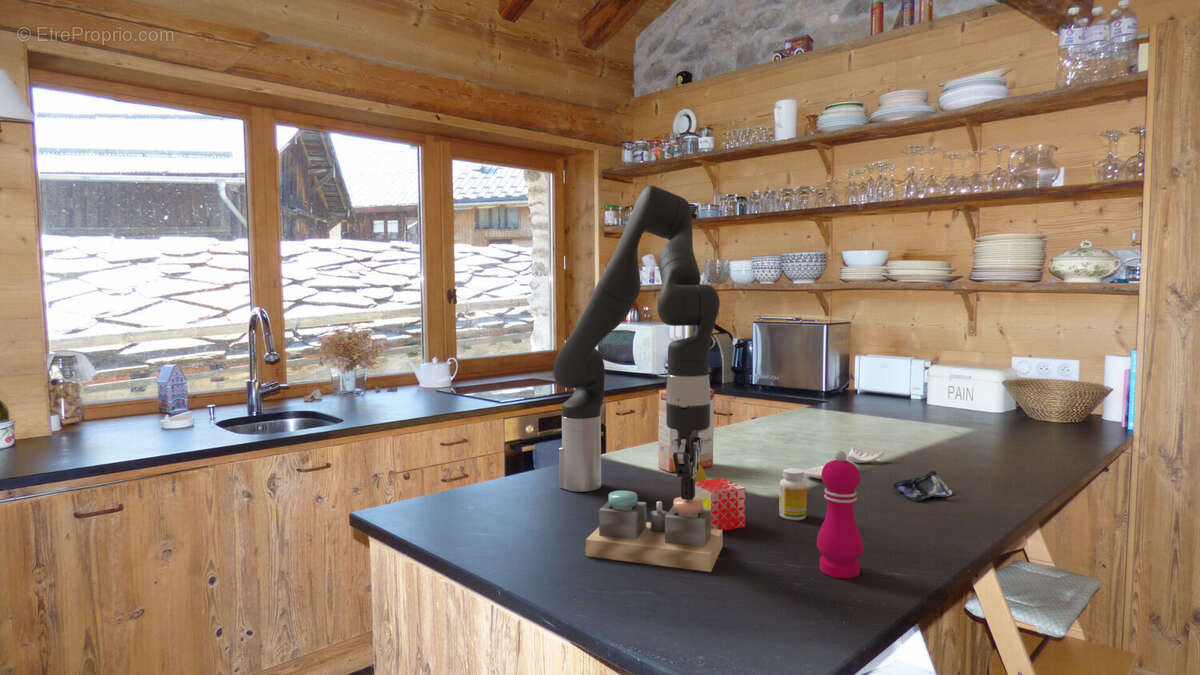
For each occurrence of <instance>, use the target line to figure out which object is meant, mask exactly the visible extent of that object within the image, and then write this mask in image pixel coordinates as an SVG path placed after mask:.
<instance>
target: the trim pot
mask: <svg viewBox="0 0 1200 675" xmlns="http://www.w3.org/2000/svg"><path fill="white" fill-rule="evenodd" d="M668 512H669V511H666V510H663V501H660V500H659V501H656V510H651V511H650V522H651V530H652V531H654V532H665V516H666V515H667V513H668Z"/></svg>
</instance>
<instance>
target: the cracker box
mask: <svg viewBox="0 0 1200 675" xmlns="http://www.w3.org/2000/svg"><path fill="white" fill-rule="evenodd" d="M714 412H715V390H714V389H712V388H710V426H709V428H707V429H705V430H700V431H698V433H699V435H698V437H701V440H702V445H701V453H700V461H699V465H700V466H701V467H702V468H703V469H704V467H705V468H711V467H710V466H712V467H714V431H715V430H714V422H715V418H714V417H715V415H714V414H715V413H714ZM677 438H678V431H677V430H676V429H671V428H669V427H668V426H667V424H666V389H663V390H662V389H661V390H660V389H659V391H658V469H661V470H663V471H665V472H668V473H675V472H676V468H675V464H674V459H673V454H674V452H676V449H675V439H677Z"/></svg>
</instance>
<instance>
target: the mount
mask: <svg viewBox="0 0 1200 675" xmlns="http://www.w3.org/2000/svg"><path fill="white" fill-rule="evenodd" d="M667 512H668V513H667V515H666V516H665V532H654V531H652V530H651V521H650V522H649V521H647V502H646V501H637V505H636V506H634V507H632V511H626V510H616V509H614V507H612V506H610V505H609V500H608V501H606V503H605V504H604V505H603V506H602V507H600V509H599V510H598V527H597V528H596V529H595V530H594V531H593V532H591V533H590V535H588V536H587V538H585V557H591V558H597V559H606V560H614V561H621V562H630V563H639V564H644V565H645V564H646V565H652V566H654V565H655V566H661V567H667V568H668V567H669V568H676V569H677V568H679V569H684V570H692V571H693V570H694V571H700V572H707V573H708V572H709V573H711V572H712V570H713V568H714V566H715V564H716V562H717V559H718V557H719V555H720V553H721V551H722V549H723V544H724V543H723V535H724V534H723V530H717V529H711V509H709V508H703V512H702V513H699V514H698V518H695V517H685V516H679V513H677V512H675V511H674V505H672V506H671V508H670V509H669V511H667Z"/></svg>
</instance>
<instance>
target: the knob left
mask: <svg viewBox="0 0 1200 675" xmlns="http://www.w3.org/2000/svg"><path fill="white" fill-rule="evenodd" d="M608 501H609V505H610V506H612V507H614V509H616V510H626V511H632V507H634V506H636V505H637V502H638V494H637V492H635V491H630V490H614V491H611V492H609V493H608Z"/></svg>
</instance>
